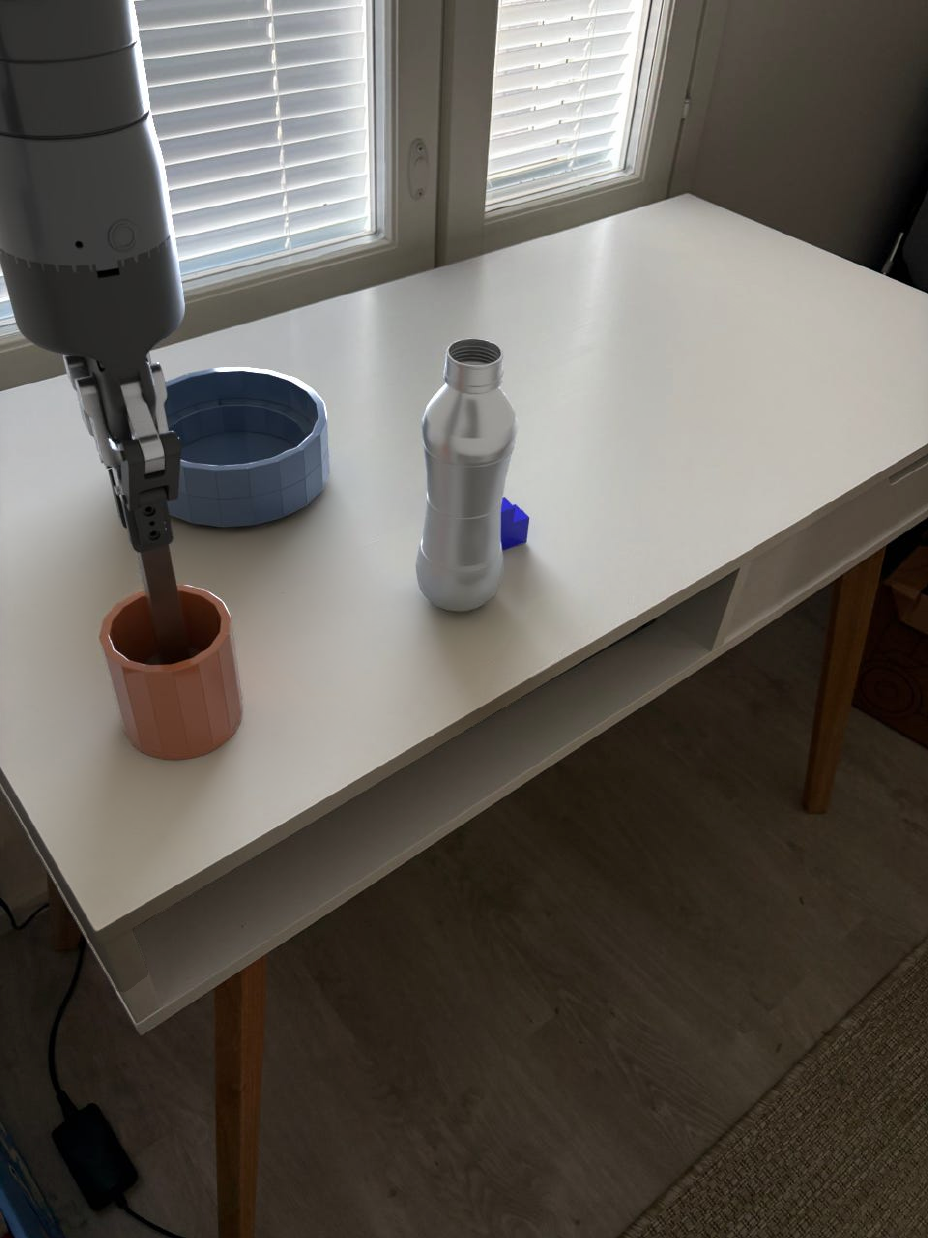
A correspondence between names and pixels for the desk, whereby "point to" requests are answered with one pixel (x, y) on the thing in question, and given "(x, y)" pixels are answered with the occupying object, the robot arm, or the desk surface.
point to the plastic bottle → (466, 478)
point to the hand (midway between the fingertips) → (147, 533)
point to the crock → (174, 677)
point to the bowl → (246, 445)
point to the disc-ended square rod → (164, 607)
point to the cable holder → (513, 525)
